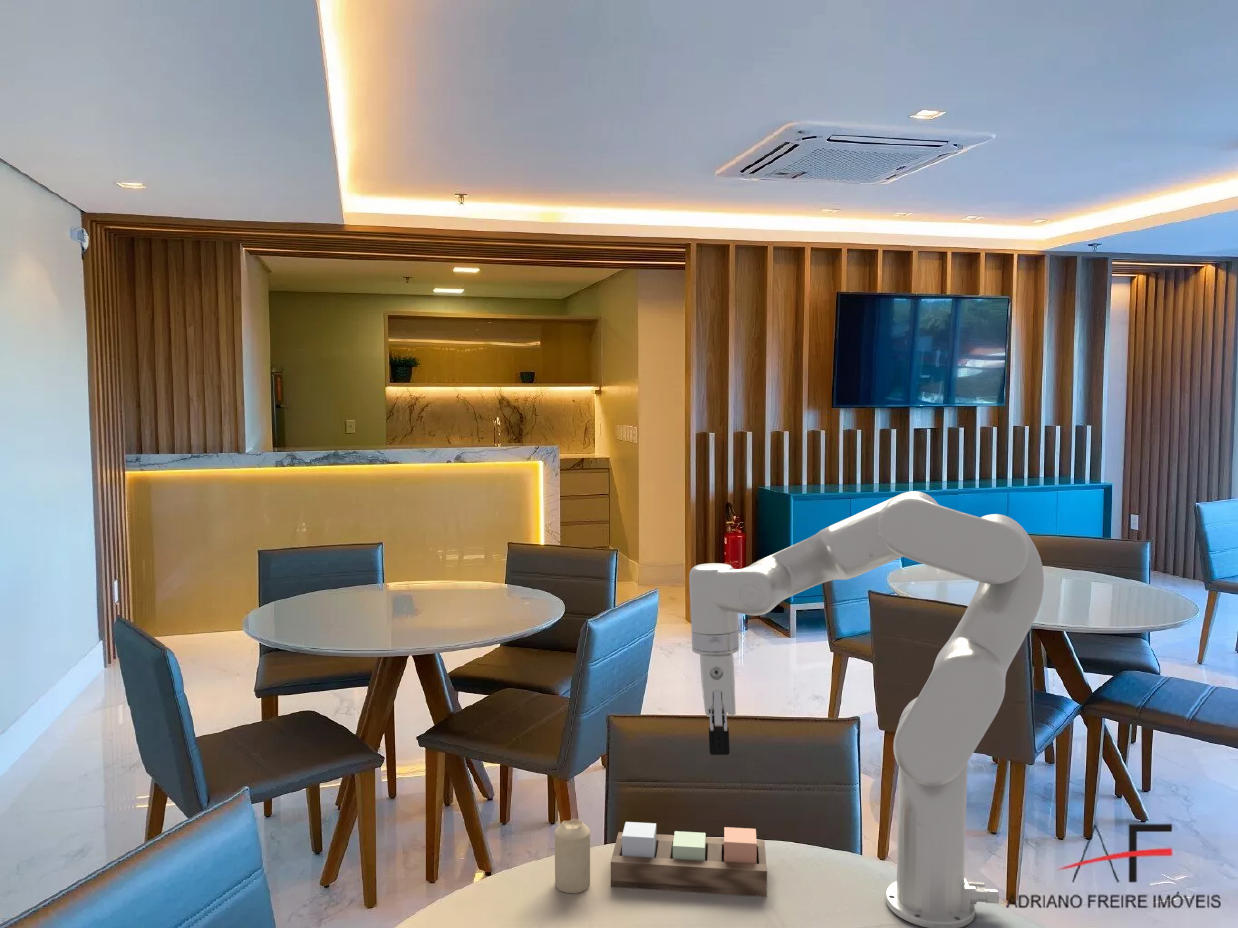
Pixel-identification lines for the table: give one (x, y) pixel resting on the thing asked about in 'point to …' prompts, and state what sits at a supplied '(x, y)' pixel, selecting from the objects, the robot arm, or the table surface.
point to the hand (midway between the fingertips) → (719, 752)
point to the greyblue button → (639, 839)
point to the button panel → (690, 870)
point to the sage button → (689, 846)
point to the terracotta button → (740, 845)
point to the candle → (572, 856)
